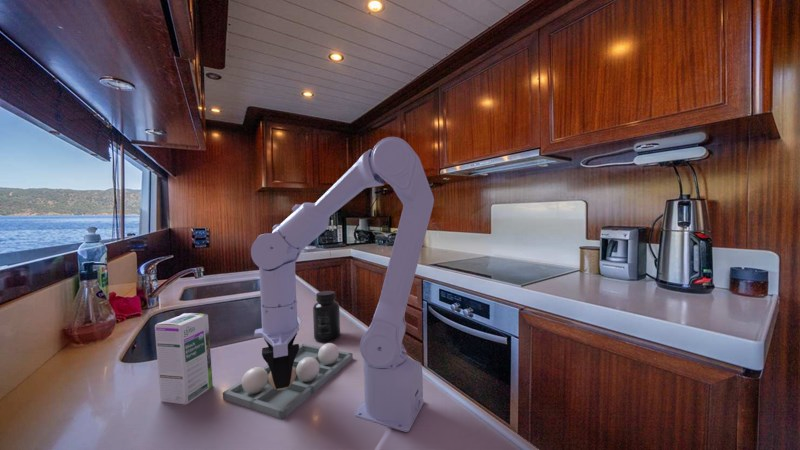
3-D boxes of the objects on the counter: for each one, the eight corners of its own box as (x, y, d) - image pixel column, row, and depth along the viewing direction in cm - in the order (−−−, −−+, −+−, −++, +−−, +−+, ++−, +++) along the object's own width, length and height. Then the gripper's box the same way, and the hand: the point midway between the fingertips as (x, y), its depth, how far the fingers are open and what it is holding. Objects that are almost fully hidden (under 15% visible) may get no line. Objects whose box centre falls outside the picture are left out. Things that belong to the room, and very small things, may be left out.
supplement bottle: (345, 335, 80) (344, 291, 79) (327, 345, 74) (325, 298, 74) (327, 330, 84) (326, 288, 83) (308, 339, 78) (306, 294, 77)
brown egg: (301, 383, 53) (300, 359, 53) (283, 398, 49) (281, 372, 49) (282, 378, 55) (281, 355, 55) (263, 392, 51) (262, 367, 51)
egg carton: (352, 360, 66) (352, 339, 66) (283, 421, 47) (282, 392, 47) (303, 350, 72) (302, 330, 71) (223, 401, 53) (221, 375, 52)
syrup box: (186, 407, 51) (181, 324, 51) (158, 403, 53) (153, 322, 52) (213, 387, 57) (209, 313, 56) (187, 384, 58) (183, 311, 57)
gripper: (256, 294, 56) (259, 364, 57) (249, 320, 43) (253, 410, 44) (295, 290, 59) (298, 356, 60) (300, 312, 46) (303, 398, 46)
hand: (282, 379), depth 52 cm, fingers closed on brown egg, 4 cm apart
